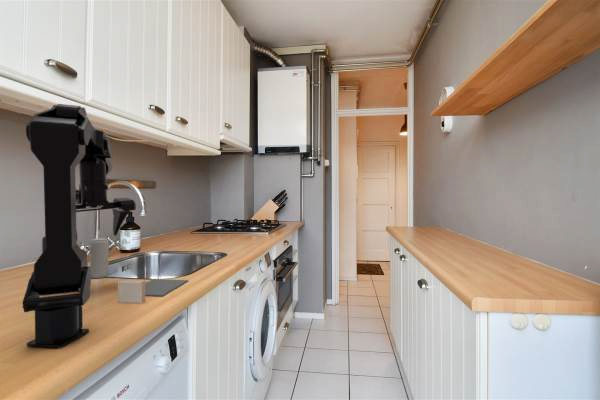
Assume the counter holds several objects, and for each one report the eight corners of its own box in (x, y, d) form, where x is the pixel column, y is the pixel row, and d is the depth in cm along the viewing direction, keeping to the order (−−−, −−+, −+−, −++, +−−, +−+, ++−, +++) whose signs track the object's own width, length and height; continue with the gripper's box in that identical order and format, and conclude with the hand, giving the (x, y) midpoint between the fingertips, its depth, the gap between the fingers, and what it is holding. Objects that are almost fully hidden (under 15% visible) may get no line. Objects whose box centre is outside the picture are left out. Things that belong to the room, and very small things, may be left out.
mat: (162, 296, 79) (162, 295, 78) (122, 295, 80) (122, 293, 80) (188, 281, 92) (188, 280, 92) (153, 280, 94) (153, 279, 94)
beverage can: (92, 279, 94) (92, 240, 94) (88, 276, 98) (88, 239, 97) (110, 276, 98) (110, 239, 98) (105, 274, 101) (105, 237, 101)
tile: (141, 303, 74) (141, 282, 74) (118, 302, 75) (117, 281, 74) (145, 301, 76) (145, 280, 75) (122, 300, 76) (122, 280, 76)
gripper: (120, 176, 93) (121, 226, 95) (40, 178, 78) (44, 237, 81) (135, 180, 85) (137, 234, 88) (51, 183, 71) (55, 248, 74)
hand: (96, 238), depth 83 cm, fingers open, 9 cm apart
